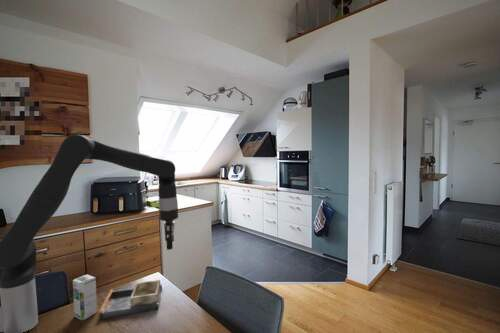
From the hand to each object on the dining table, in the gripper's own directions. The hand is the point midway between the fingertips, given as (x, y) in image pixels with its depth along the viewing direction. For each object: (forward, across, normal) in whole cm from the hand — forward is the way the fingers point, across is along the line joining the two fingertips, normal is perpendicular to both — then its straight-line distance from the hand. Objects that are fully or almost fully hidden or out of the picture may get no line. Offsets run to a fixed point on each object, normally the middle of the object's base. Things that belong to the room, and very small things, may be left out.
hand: (170, 245), depth 105 cm
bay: (+23, 0, -16) cm, 28 cm away
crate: (+23, 0, -11) cm, 25 cm away
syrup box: (+23, +3, -32) cm, 40 cm away
